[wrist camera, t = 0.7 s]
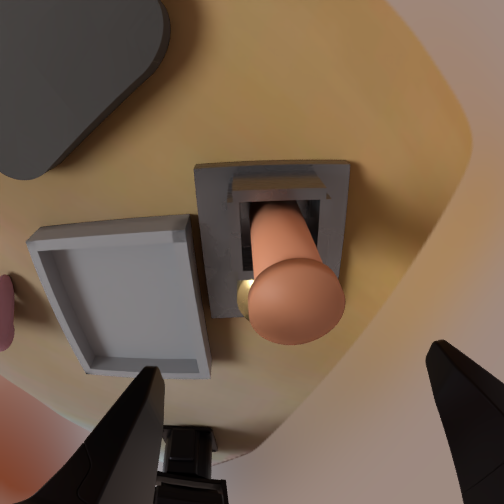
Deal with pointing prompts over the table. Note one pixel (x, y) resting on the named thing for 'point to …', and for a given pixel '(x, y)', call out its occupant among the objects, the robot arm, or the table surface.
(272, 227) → the pin
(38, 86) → the media streaming box
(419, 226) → the table surface
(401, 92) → the table surface
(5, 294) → the video game controller
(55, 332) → the table surface
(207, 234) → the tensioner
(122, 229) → the tray
